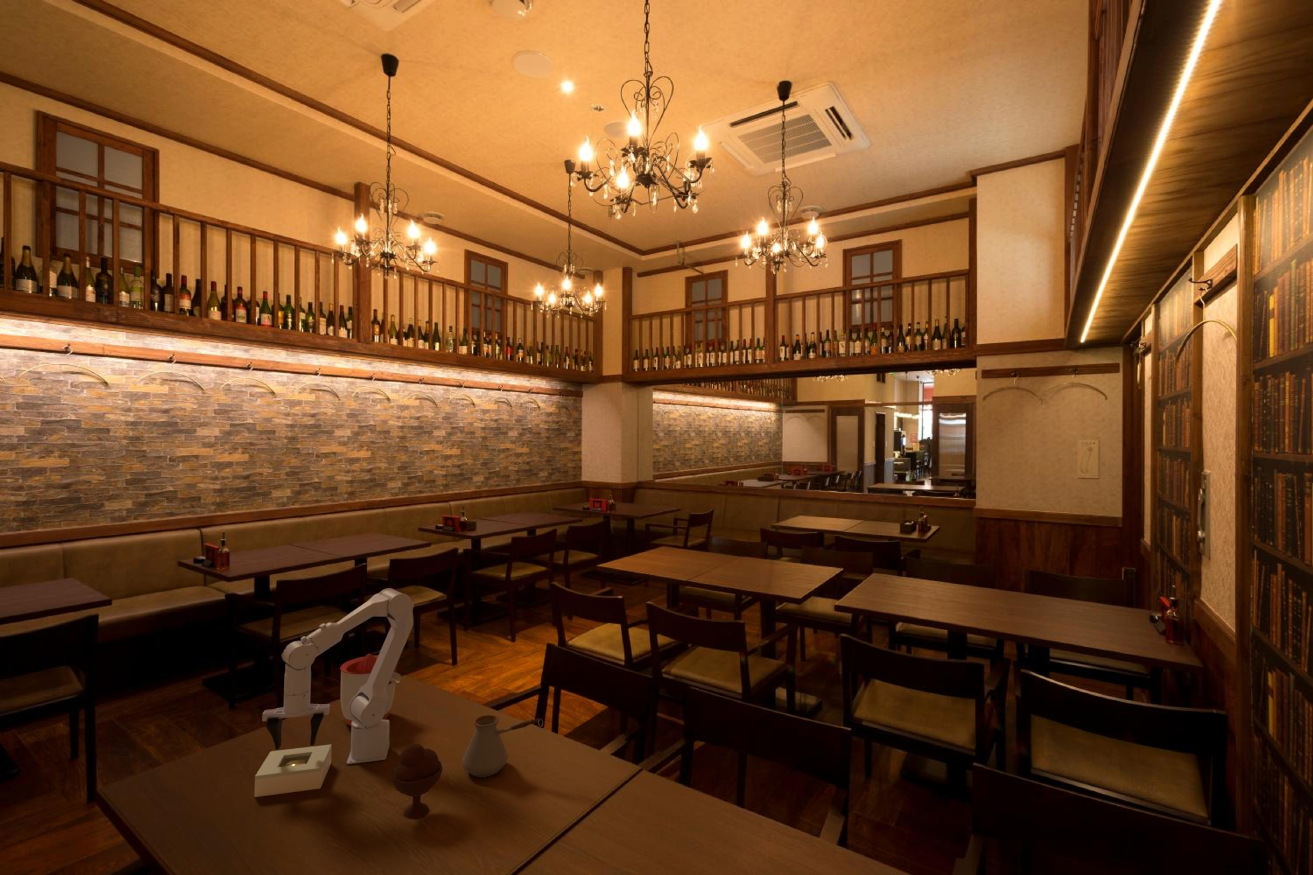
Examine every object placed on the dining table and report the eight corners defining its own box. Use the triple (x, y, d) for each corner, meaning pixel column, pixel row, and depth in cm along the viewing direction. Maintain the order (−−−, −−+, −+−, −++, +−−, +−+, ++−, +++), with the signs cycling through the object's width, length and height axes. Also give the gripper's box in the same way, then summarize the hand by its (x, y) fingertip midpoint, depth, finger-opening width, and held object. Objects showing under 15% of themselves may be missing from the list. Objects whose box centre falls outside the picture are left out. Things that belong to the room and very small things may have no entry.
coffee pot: (453, 777, 153) (454, 718, 153) (476, 755, 164) (477, 700, 165) (531, 789, 149) (533, 728, 149) (549, 766, 160) (550, 709, 160)
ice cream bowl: (393, 831, 132) (395, 762, 132) (389, 803, 142) (391, 739, 142) (444, 818, 137) (445, 751, 137) (437, 792, 146) (438, 730, 147)
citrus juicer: (387, 731, 177) (389, 663, 177) (328, 731, 176) (330, 662, 177) (408, 708, 192) (410, 645, 193) (353, 707, 192) (355, 644, 192)
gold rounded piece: (309, 772, 153) (309, 760, 153) (295, 781, 148) (295, 769, 148) (294, 770, 154) (294, 758, 154) (279, 779, 149) (280, 767, 149)
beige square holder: (330, 763, 159) (331, 744, 159) (320, 788, 147) (321, 767, 147) (270, 770, 155) (270, 751, 155) (254, 796, 143) (255, 775, 143)
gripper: (332, 682, 157) (331, 734, 157) (269, 687, 153) (267, 741, 153) (327, 692, 151) (325, 747, 150) (260, 698, 146) (258, 755, 146)
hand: (295, 745), depth 151 cm, fingers open, 7 cm apart
